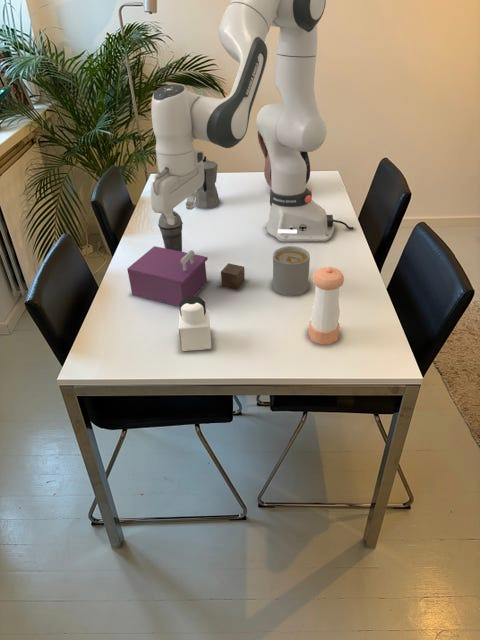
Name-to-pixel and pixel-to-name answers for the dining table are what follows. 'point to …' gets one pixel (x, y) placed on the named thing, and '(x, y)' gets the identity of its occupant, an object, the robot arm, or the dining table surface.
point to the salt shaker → (326, 306)
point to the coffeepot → (208, 187)
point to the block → (232, 276)
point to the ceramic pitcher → (268, 165)
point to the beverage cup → (171, 232)
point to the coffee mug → (291, 270)
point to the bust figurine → (194, 324)
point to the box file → (167, 287)
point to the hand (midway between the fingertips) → (181, 215)
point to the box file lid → (168, 264)
